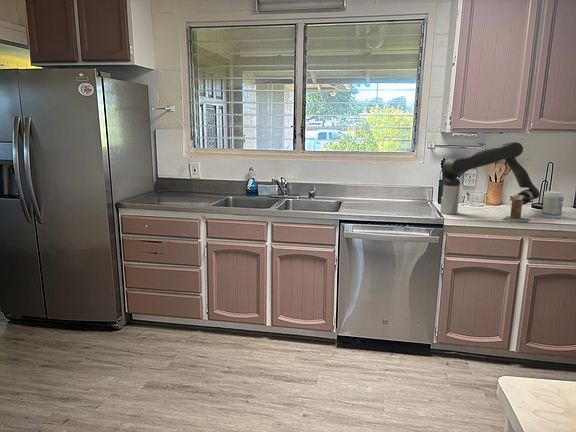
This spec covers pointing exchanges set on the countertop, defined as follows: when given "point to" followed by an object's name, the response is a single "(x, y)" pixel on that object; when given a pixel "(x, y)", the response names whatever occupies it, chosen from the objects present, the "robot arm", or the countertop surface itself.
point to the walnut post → (516, 206)
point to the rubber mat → (516, 219)
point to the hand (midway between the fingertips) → (518, 201)
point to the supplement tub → (552, 204)
